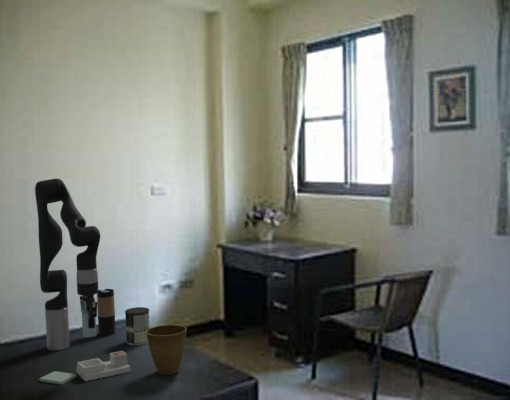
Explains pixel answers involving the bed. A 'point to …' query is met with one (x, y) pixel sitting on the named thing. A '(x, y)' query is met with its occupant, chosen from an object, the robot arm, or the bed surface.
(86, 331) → the blue-grey elongated rounded piece
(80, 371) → the housing
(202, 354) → the bed surface
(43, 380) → the mat
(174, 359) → the plant pot
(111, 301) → the travel mug
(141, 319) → the coffee can
